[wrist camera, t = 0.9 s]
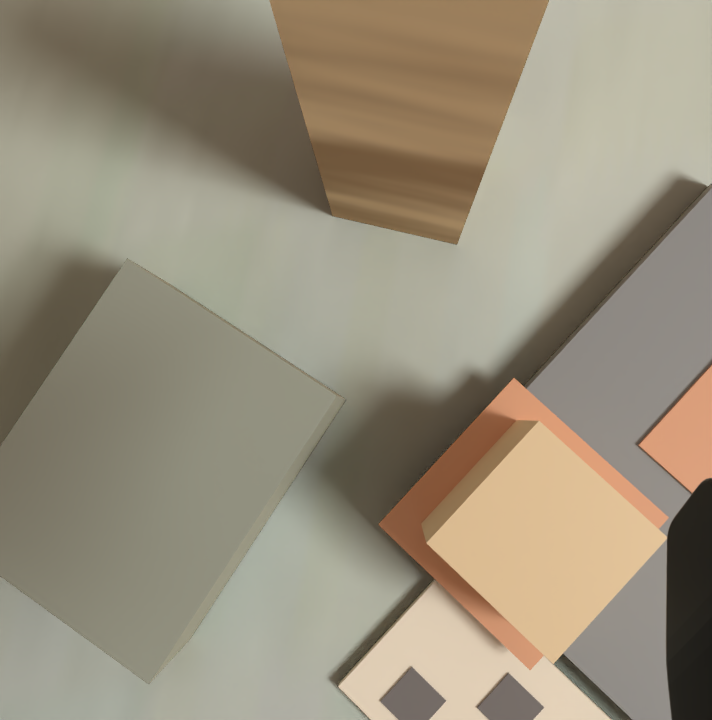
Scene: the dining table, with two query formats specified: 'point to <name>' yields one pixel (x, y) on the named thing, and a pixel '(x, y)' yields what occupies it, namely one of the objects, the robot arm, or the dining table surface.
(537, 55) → the dining table surface
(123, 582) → the cover
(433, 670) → the card
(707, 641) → the robot arm
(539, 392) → the board
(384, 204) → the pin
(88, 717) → the dining table surface
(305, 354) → the dining table surface
